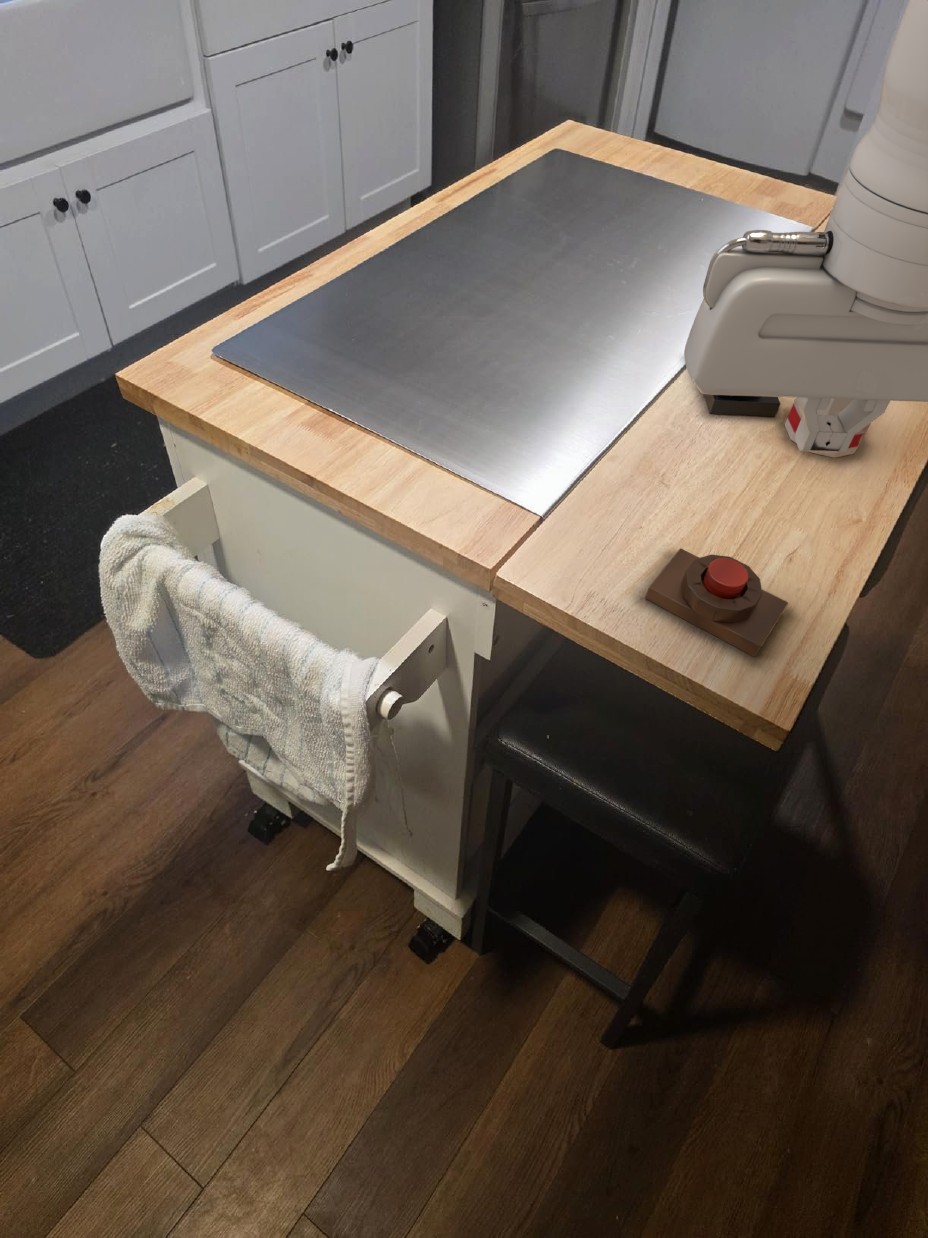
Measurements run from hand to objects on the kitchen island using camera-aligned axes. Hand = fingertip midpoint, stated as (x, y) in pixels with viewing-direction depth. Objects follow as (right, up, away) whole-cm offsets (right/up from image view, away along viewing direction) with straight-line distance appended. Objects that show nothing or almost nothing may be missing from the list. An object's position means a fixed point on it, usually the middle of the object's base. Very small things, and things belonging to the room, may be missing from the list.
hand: (818, 446), depth 57 cm
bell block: (-2, -10, +17) cm, 19 cm away
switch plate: (+6, +14, +38) cm, 41 cm away
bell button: (-2, -8, +15) cm, 17 cm away
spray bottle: (+14, +8, +34) cm, 37 cm away
